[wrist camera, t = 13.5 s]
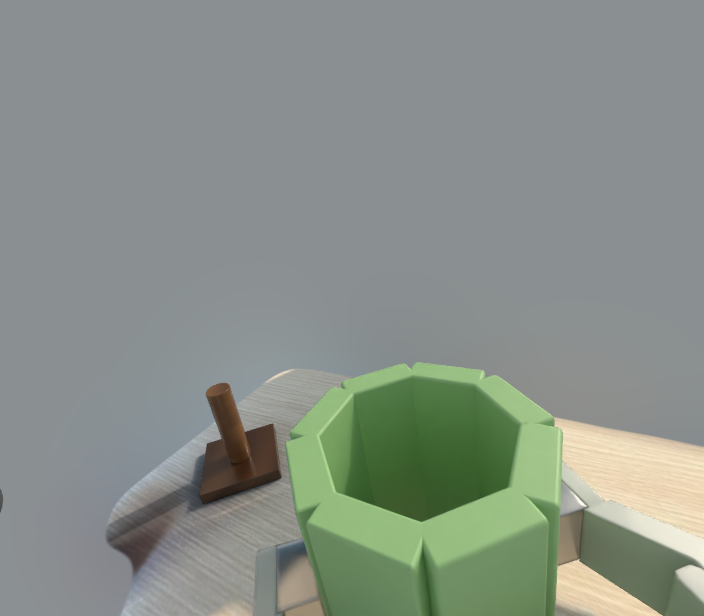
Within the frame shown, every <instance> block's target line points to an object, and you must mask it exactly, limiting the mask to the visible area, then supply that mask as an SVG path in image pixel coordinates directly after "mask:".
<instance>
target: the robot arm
mask: <svg viewBox="0 0 704 616" xmlns="http://www.w3.org/2000/svg"><path fill="white" fill-rule="evenodd" d="M578 559H580V560H579V561H580V562H582V563H583V564H585V565H586V566H588V567H589V568H591V569H592V570H594V571H595V572H597V573H598V574H600V575H602V576H603V577H605V578H606V579H608V580H609V581H611V582H612V583H614V584H615V585H617V586H618V587H620V588H622V589H623V590H625V591H626V592H628V593H629V594H631V595H632V596H634V597H635V598H637V599H638V600H640V601H642V602H643V603H645V604H646V605H648V606H649V607H651V608H652V609H654V610H655V611H657V612H658V613H660V614H662V615H663V616H704V539H703V538H701V537H699V536H696V535H694V534H691V533H689V532H687V531H684V530H682V529H679V528H677V527H675V526H672V525H670V524H667V523H665V522H663V521H660V520H658V519H655V518H653V517H651V516H648V515H646V514H643V513H641V512H639V511H636V510H634V509H631V508H629V507H627V506H624V505H622V504H620V503H617V502H615V501H612V500H610V501H605V500H604V499H603V498H602V497H601V496H600V495H599V494H598V493H597V492H596V491H595V490H594V489H593V488H591V487H590V486H589V485H588V484H587V483H586V482H585V481H584V480H583V479H582V478H581V477H580V476H579V475H578V474H576V473H575V472H574V471H573V470H572V469H571V468H570V467H569V466H568V465H567V464H566V463H565V462H564V461H563V460H562V477H561V509H560V528H559V546H558V565H557V566H560V565H563V564H566V563H569V562H572V561H575V560H578ZM253 616H326V613H325V609H324V606H323V603H322V599H321V596H320V593H319V589H318V586H317V583H316V579H315V576H314V573H313V569H312V566H311V563H310V559H309V556H308V553H307V550H306V546H305V543H304V540H303V538H300V539H296V540H293V541H289V542H286V543H282V544H279V545H275V546H272V547H269V548H265V549H262V550H259V551H258V552H257V556H256V568H255V591H254V613H253Z"/></svg>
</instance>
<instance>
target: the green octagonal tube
mask: <svg viewBox="0 0 704 616" xmlns="http://www.w3.org/2000/svg"><path fill="white" fill-rule="evenodd" d="M341 386H342V389H341V388H336V387H332V388H331V389H330V390H329V391H328V392H327V393H326V394H325V395H324V396H323V397H322V398H321V399H320V400H319V401H318V403H317V404H316V405H315V406H314V407H313V408H312V409H311V410H310V411H309V412H308V413H307V414H306V415H305V416H304V417H303V419H302V420H301V421H300V422H299V423H298V424H297V425H296V426H295V427H294V428H293V429H292V430H291V431H290V438H291V441H288V442H286V443H285V449H286V456H287V462H288V469H289V475H290V482H291V488H292V494H293V501H294V507H295V513H296V516H297V520H298V523H299V526H300V530H301V533H302V536H303V540H304V543H305V546H306V550H307V553H308V556H309V559H310V563H311V566H312V569H313V573H314V576H315V579H316V583H317V586H318V589H319V593H320V596H321V599H322V603H323V606H324V609H325V613H326V616H555V602H556V584H557V565H558V546H559V528H560V509H561V477H562V443H563V432H562V430H561V429H560V428H558V427H554V424H555V420H554V418H553V416H552V415H550V414H549V413H548V412H546V411H545V410H543V409H542V408H541V407H539V406H538V405H537V404H535V403H534V402H532V401H531V400H530V399H528V398H527V397H526V396H524V395H523V394H522V393H520V392H519V391H518V390H516V389H515V388H514V387H512V386H511V385H510V384H508V383H507V382H505V381H504V380H503V379H501V378H500V377H499V376H496V375H493V376H490V377H487V378H486V375H485V372H484V371H483V370H476V369H467V368H459V367H451V366H443V365H435V364H426V363H418V362H417V363H415V364H414V365H413V367H412V368H411V369H410V368H409V367H408V366H407V365H406V364H404V363H402V364H399V365H396V366H393V367H389V368H386V369H382V370H379V371H376V372H372V373H369V374H366V375H362V376H359V377H355V378H352V379H349V380H345V381H343V382H342V383H341Z"/></svg>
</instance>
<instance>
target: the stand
mask: <svg viewBox="0 0 704 616" xmlns="http://www.w3.org/2000/svg"><path fill="white" fill-rule="evenodd" d="M206 396H207V399H208V401H209V404H210V407H211V410H212V413H213V416H214V418H215V421H216V424H217V427H218V430H219V432H220V435H221V438H222V439H220V440H217V441H214V442H210V443H207V447H206V454H205V461H204V468H203V475H202V482H201V489H200V498H201V500H202V503H203V504H205V503H208V502H211V501H214V500H217V499H220V498H223V497H226V496H229V495H232V494H235V493H238V492H241V491H243V490H246V489H249V488H252V487H255V486H258V485H261V484H264V483H267V482H270V481H273V480H276V479H279V478H281V471H280V463H279V455H278V447H277V439H276V432H275V428H274V424H270V425H266V426H263V427H260V428H256V429H253V430H250V431H247V432H245V431H244V428H243V425H242V422H241V419H240V416H239V413H238V410H237V407H236V404H235V401H234V398H233V395H232V391H231V388H230V385H229V384H227V383H220V384H216V385H214V386H212V387H210V388H209V389H208V390H207V392H206Z"/></svg>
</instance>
